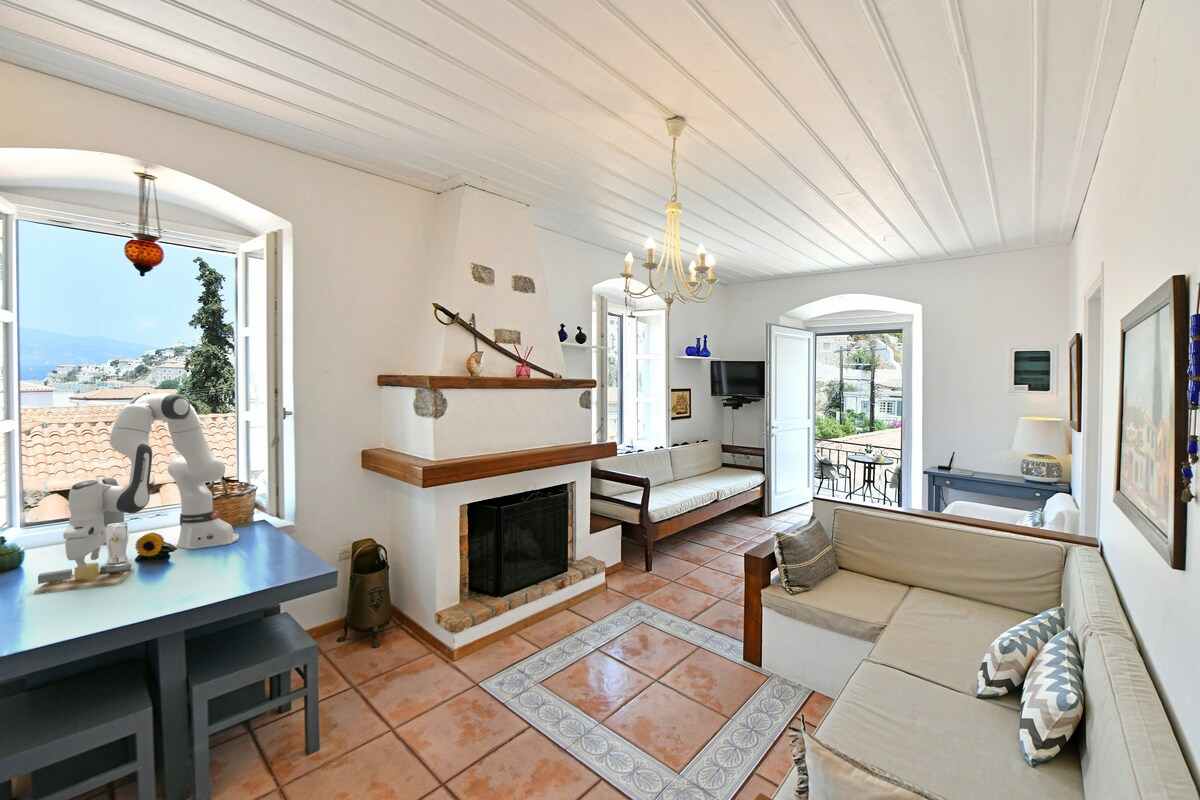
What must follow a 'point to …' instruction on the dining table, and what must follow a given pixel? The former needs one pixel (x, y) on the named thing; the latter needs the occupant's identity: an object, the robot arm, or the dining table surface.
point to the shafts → (68, 573)
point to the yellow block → (87, 571)
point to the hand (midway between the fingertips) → (88, 563)
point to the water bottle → (112, 516)
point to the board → (83, 582)
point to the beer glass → (117, 542)
